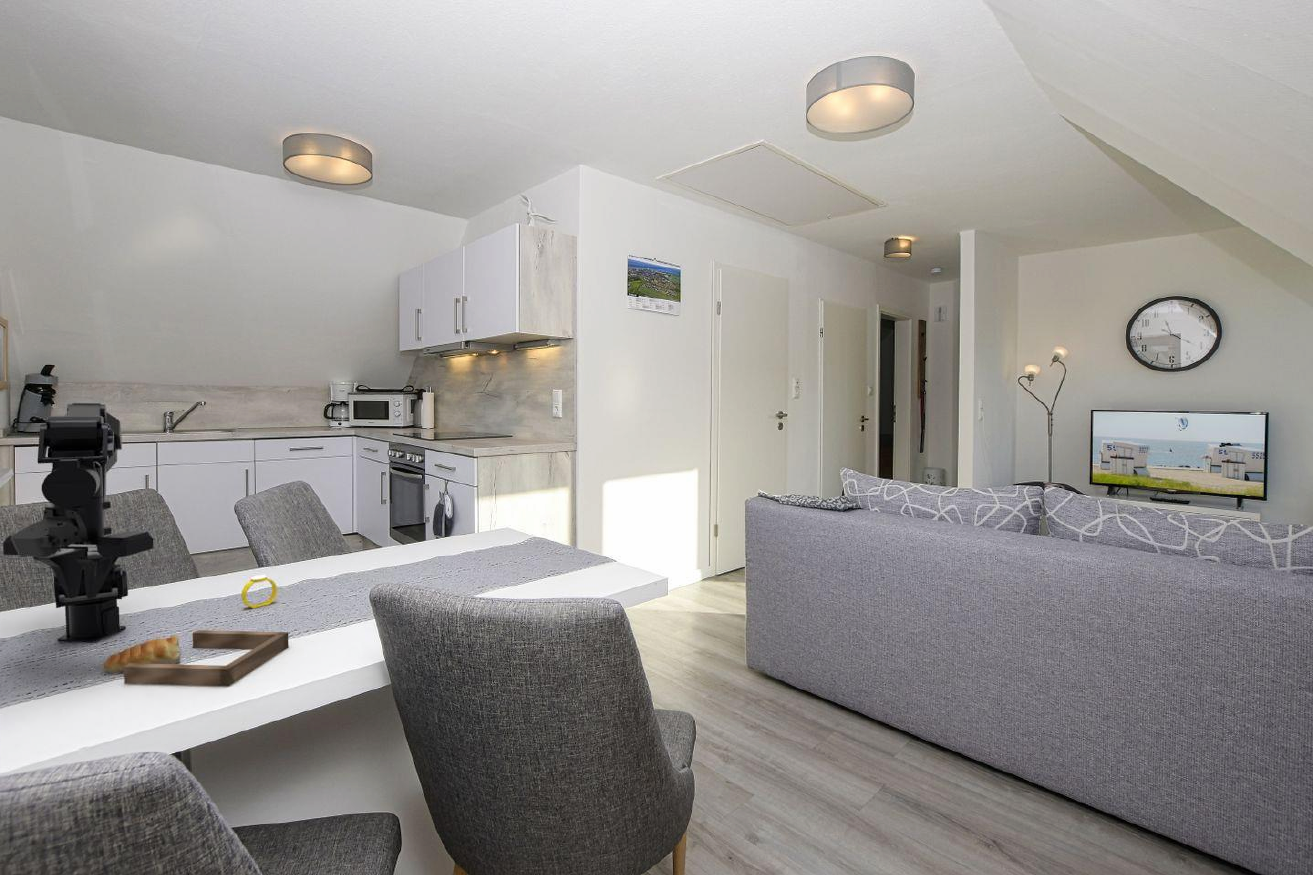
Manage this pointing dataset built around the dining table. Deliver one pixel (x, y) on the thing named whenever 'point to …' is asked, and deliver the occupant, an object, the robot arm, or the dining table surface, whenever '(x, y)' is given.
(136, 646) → the pastry
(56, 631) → the dining table surface
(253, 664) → the frame
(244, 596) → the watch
